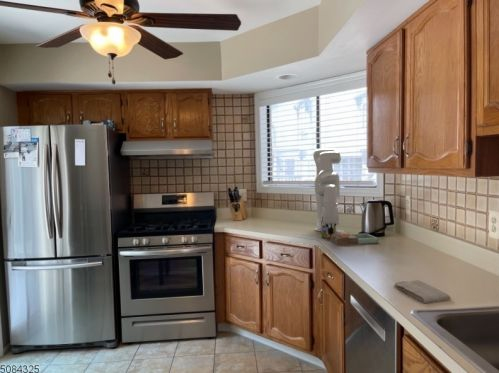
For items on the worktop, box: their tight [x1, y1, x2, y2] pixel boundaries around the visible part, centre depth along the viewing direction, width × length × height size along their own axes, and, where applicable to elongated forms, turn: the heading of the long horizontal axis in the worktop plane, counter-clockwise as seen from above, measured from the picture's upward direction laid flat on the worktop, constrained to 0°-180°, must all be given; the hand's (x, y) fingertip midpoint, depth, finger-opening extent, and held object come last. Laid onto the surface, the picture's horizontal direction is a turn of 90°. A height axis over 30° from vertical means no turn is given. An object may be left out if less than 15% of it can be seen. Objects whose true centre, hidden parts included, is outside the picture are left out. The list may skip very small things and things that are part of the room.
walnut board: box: [329, 233, 359, 246], centre depth 216 cm, size 15×12×4 cm
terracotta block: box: [339, 231, 350, 238], centre depth 213 cm, size 4×4×2 cm
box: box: [350, 233, 379, 245], centre depth 218 cm, size 15×13×3 cm
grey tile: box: [335, 229, 346, 236], centre depth 219 cm, size 4×4×2 cm
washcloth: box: [393, 279, 451, 304], centre depth 131 cm, size 12×18×3 cm, turn 13°
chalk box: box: [321, 221, 337, 239], centre depth 233 cm, size 9×9×15 cm
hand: (330, 234), depth 218 cm, fingers closed
